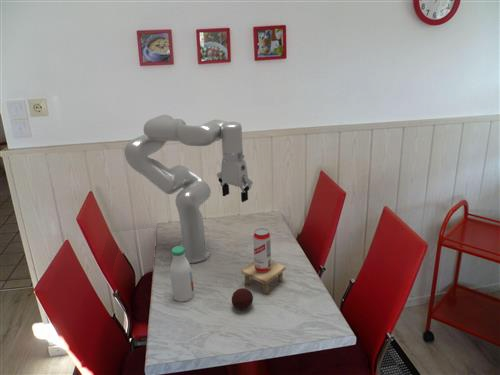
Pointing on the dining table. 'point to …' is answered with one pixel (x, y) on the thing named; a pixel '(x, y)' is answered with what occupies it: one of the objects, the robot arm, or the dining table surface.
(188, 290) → the milk bottle
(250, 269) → the stool
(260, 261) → the beer can
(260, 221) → the dining table surface
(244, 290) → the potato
